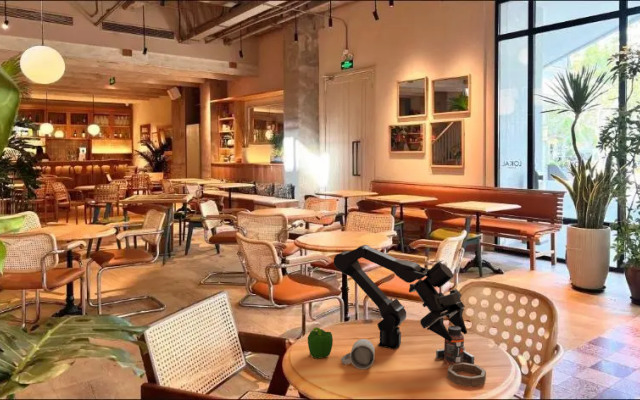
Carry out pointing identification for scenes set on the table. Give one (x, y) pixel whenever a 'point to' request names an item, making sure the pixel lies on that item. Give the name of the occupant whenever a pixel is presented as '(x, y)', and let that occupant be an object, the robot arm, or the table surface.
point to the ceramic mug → (360, 354)
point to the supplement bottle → (454, 346)
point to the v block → (466, 355)
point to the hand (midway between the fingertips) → (458, 337)
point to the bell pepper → (320, 343)
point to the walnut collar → (466, 380)
